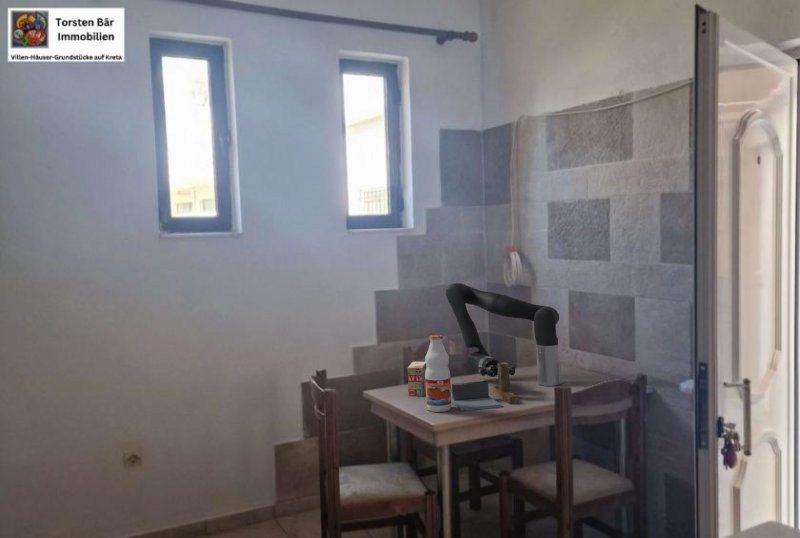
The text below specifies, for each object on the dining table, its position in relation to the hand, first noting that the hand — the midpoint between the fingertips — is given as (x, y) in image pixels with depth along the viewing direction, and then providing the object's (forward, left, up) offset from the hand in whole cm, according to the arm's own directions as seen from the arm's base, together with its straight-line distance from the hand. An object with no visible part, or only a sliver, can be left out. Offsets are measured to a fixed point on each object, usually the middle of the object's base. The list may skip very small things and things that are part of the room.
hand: (502, 373), depth 249 cm
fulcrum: (+14, +1, -10) cm, 17 cm away
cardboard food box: (+29, -24, -10) cm, 39 cm away
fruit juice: (+29, +9, -10) cm, 32 cm away
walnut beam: (0, +1, -10) cm, 10 cm away
